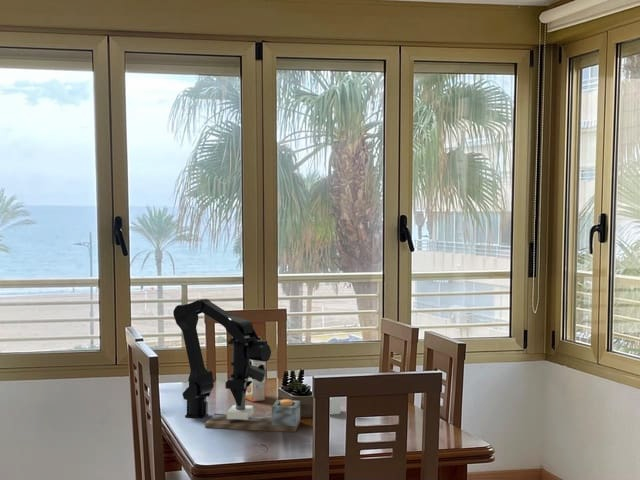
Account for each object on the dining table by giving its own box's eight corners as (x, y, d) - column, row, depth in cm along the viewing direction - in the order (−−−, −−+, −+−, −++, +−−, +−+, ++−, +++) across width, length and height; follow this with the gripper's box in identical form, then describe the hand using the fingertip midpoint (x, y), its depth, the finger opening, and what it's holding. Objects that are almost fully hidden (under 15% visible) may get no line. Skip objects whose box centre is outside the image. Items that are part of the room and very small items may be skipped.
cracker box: (266, 400, 270) (266, 346, 270) (252, 402, 266) (253, 347, 266) (248, 393, 281) (249, 341, 281) (234, 395, 278) (235, 342, 278)
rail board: (205, 427, 232) (205, 404, 232) (214, 417, 244) (214, 396, 244) (295, 431, 228) (295, 408, 228) (300, 421, 240) (300, 400, 240)
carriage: (226, 418, 232) (227, 396, 232) (233, 411, 241) (233, 390, 241) (247, 419, 232) (248, 397, 232) (253, 412, 241) (253, 391, 241)
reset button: (279, 408, 233) (279, 402, 233) (281, 405, 237) (281, 399, 237) (291, 408, 233) (291, 402, 233) (293, 405, 237) (293, 399, 237)
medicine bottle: (314, 411, 255) (315, 378, 255) (332, 409, 258) (333, 376, 258) (322, 416, 249) (323, 382, 249) (340, 414, 252) (341, 380, 251)
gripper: (259, 364, 226) (258, 412, 226) (270, 354, 245) (269, 399, 245) (225, 363, 227) (224, 411, 228) (238, 353, 246) (237, 397, 246)
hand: (240, 404), depth 237 cm, fingers closed on carriage, 3 cm apart
